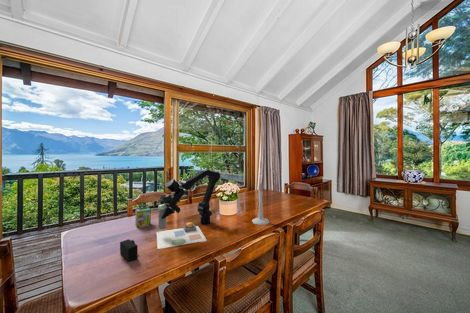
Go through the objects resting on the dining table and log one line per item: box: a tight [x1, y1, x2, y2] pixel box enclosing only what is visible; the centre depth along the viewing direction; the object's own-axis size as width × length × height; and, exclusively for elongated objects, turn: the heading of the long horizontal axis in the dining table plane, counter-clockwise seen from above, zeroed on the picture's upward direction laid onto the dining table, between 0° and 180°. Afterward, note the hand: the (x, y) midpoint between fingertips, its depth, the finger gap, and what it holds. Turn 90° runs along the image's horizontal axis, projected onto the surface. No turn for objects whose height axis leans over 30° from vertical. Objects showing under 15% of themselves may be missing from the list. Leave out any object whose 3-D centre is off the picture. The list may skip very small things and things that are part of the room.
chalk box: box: [134, 203, 152, 229], centre depth 140 cm, size 9×9×15 cm
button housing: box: [182, 223, 196, 232], centre depth 131 cm, size 7×7×2 cm
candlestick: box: [251, 182, 270, 226], centre depth 147 cm, size 13×13×30 cm
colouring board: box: [156, 225, 207, 250], centre depth 121 cm, size 27×24×1 cm
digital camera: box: [119, 239, 139, 263], centre depth 99 cm, size 10×5×7 cm, turn 50°
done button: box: [185, 221, 194, 228], centre depth 131 cm, size 4×4×2 cm
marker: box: [157, 204, 167, 230], centre depth 120 cm, size 5×5×14 cm
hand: (160, 217), depth 119 cm, fingers closed on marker, 4 cm apart
